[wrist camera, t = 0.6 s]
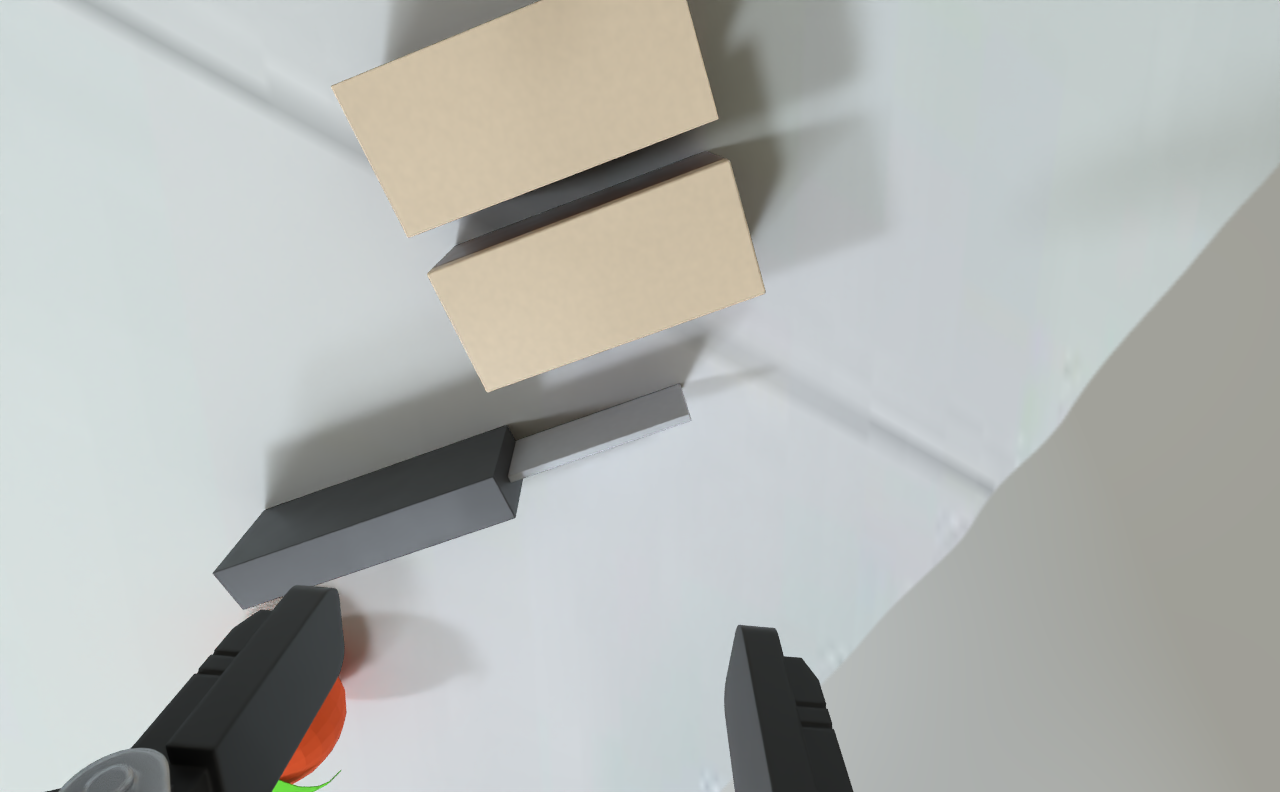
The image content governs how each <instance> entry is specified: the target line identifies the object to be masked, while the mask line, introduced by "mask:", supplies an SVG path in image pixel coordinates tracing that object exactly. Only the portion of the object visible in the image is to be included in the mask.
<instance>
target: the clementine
mask: <svg viewBox="0 0 1280 792" xmlns="http://www.w3.org/2000/svg"><path fill="white" fill-rule="evenodd" d="M345 717H346V700H345V689H344V687H343V685H342V683H341V681H340V679H339V677H338V678H337V680H336V682H335V684H334V685H333V687H332V689H331V691H330V692H329V694H328V696H327V697H326V699H325V701H324V703H323V704H322V706H321V708H320V710H319V711H318V713H317V715H316V716H315V718H314V720H313V722H312V723H311V725H310V727H309V729H308V730H307V732H306V734H305V736H304V737H303V739H302V741H301V742H300V744H299V746H298V748H297V749H296V751H295V753H294V755H293V756H292V758H291V760H290V761H289V763H288V765H287V767H286V768H285V770H284V772H283V774H282V775H281V777H280V779H279V780H278V782H277V784H276V786H275V787H274V789H273V791H272V792H314V791H316V790H318V789H320V788H322V787H323V786H325V785H327V784H328V783H329V782H331V781H332V780H333V779H334V778H335V777H336V776H337V775H338V774H339V772H340V771H341V770H340V771H339V772H338V773H337V774H336V775H335V776H334V777H333V778H332V779H331V780H330V781H329V782H327V783H324V784H322V785H320V786H313V787H301V786H296V785H293V784H294V783H295V782H297V781H299V780H301V779H302V778H304V777H305V776H307V775H308V774H310V773H312V772H313V771H314V770H315V769H316V768H317V767H318V766H319V765H320V764H321V763H322V762H323V761H324V760H325V759H326V757H327V756H328V755H329V754H330V752H331V751H332V750H333V748H334V746H335V744H336V743H337V741H338V739H339V737H340V734H341V731H342V728H343V725H344V721H345Z"/></svg>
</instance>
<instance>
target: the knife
mask: <svg viewBox="0 0 1280 792" xmlns="http://www.w3.org/2000/svg"><path fill="white" fill-rule="evenodd" d="M689 421H691V417H690V414H689V411H688V407H687V404H686V401H685V398H684V394H683V391H682V388H681V385H680V384H678V385H675V386H672V387H669V388H666V389H663V390H660V391H657V392H655V393H652V394H649V395H646V396H643V397H640V398H637V399H634V400H632V401H629V402H626V403H623V404H620V405H617V406H614V407H612V408H609V409H606V410H603V411H600V412H597V413H594V414H591V415H589V416H586V417H583V418H580V419H577V420H574V421H571V422H568V423H566V424H563V425H560V426H557V427H554V428H551V429H548V430H545V431H543V432H540V433H537V434H534V435H531V436H528V437H525V438H523V439H520V440H517V441H515V439H514V437H513V435H512V433H511V431H510V429H509V427H508V425H506V426H503V427H500V428H497V429H495V430H492V431H489V432H486V433H483V434H480V435H478V436H475V437H472V438H469V439H466V440H463V441H460V442H458V443H455V444H452V445H449V446H446V447H443V448H441V449H438V450H435V451H432V452H429V453H426V454H423V455H421V456H418V457H415V458H412V459H409V460H406V461H403V462H401V463H398V464H395V465H392V466H389V467H386V468H384V469H381V470H378V471H375V472H372V473H369V474H366V475H364V476H361V477H358V478H355V479H352V480H349V481H346V482H344V483H341V484H338V485H335V486H332V487H329V488H327V489H324V490H321V491H318V492H315V493H312V494H309V495H307V496H304V497H301V498H298V499H295V500H292V501H290V502H287V503H284V504H281V505H278V506H275V507H272V508H270V509H267V510H264V511H263V513H262V514H261V515H260V516H259V517H258V519H257V520H256V521H255V522H254V523H253V525H252V526H251V527H250V528H249V530H248V531H247V532H246V533H245V534H244V536H243V537H242V538H241V539H240V541H239V542H238V543H237V544H236V545H235V547H234V548H233V549H232V550H231V551H230V553H229V554H228V555H227V556H226V558H225V559H224V560H223V561H222V562H221V564H220V565H219V566H218V567H217V569H216V570H215V571H214V572H213V574H214V576H215V577H216V578H217V579H218V580H219V582H220V583H221V584H222V585H223V586H224V587H225V589H226V590H227V591H228V592H229V593H230V595H231V596H232V597H233V598H234V599H235V601H236V602H237V603H238V604H239V605H240V607H241V608H242V609H243V610H244V609H247V608H250V607H253V606H256V605H259V604H262V603H265V602H268V601H271V600H274V599H277V598H280V597H283V596H285V594H286V593H287V592H288V591H289V590H290V588H292V587H293V586H295V585H304V586H315V585H318V584H321V583H324V582H327V581H330V580H333V579H336V578H339V577H342V576H345V575H348V574H351V573H354V572H357V571H360V570H363V569H366V568H369V567H371V566H374V565H377V564H380V563H383V562H386V561H389V560H392V559H395V558H398V557H401V556H404V555H407V554H410V553H413V552H416V551H419V550H422V549H425V548H428V547H431V546H434V545H437V544H440V543H443V542H446V541H449V540H451V539H454V538H457V537H460V536H463V535H466V534H469V533H472V532H475V531H478V530H481V529H484V528H487V527H490V526H493V525H496V524H499V523H502V522H505V521H508V520H511V519H514V518H515V517H516V513H517V507H518V502H519V497H520V492H521V487H522V481H523V478H526V477H529V476H532V475H535V474H538V473H540V472H543V471H546V470H549V469H552V468H555V467H558V466H561V465H564V464H567V463H570V462H573V461H575V460H578V459H581V458H584V457H587V456H590V455H593V454H596V453H599V452H602V451H605V450H608V449H610V448H613V447H616V446H619V445H622V444H625V443H628V442H631V441H634V440H637V439H640V438H643V437H645V436H648V435H651V434H654V433H657V432H660V431H663V430H666V429H669V428H672V427H675V426H678V425H681V424H683V423H686V422H689Z"/></svg>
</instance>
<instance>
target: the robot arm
mask: <svg viewBox="0 0 1280 792" xmlns="http://www.w3.org/2000/svg"><path fill="white" fill-rule="evenodd" d="M343 658H344V637H343V628H342V618H341V609H340V600H339V594H338V591H337V590H336V589H335V588H326V587H315V586H304V585H295V586H293V587H292V588H290V590H289V591H288V592H287V593H286V594H285V596H284V597H283V598H282V599H281V601H280V602H279V603H278V604H277V606H276V607H275V608H274V609H273V611H270V610H259V611H258V612H256V613H255V614H253V615H252V616H250V617H249V618H247V619H246V620H245V621H243V622H242V623H240V624H239V625H237V626H236V627H234V628H233V629H232V630H231V631H230V633H229V634H228V635H227V636H226V637H225V638H224V640H223V641H222V642H221V643H220V644H219V646H218V647H217V648H216V649H215V650H214V654H213V655H210V656H209V657H208V658H207V660H206V661H205V662H204V663H203V664H202V666H201V667H200V668H199V671H198V673H197V674H194V675H193V676H192V677H191V678H190V680H189V681H188V682H187V683H186V684H185V686H184V687H183V688H182V689H181V690H180V691H179V693H178V694H177V695H176V696H175V697H174V698H173V700H172V701H171V702H170V703H169V704H168V705H167V707H166V708H165V709H164V710H163V711H162V713H161V714H160V715H159V716H158V717H157V718H156V720H155V721H154V722H153V723H152V724H151V725H150V727H149V728H148V729H147V730H146V731H145V733H144V734H143V735H142V736H141V737H140V738H139V740H138V741H137V742H136V743H135V744H134V745H133V746H132V747H131V748H130V749H127V750H122V751H119V752H116V753H113V754H110V755H108V756H105V757H103V758H101V759H99V760H97V761H95V762H93V763H91V764H90V765H88V766H87V767H85V768H84V769H82V770H81V771H79V772H78V773H77V774H76V775H74V776H73V777H72V778H71V779H70V780H69V781H68V782H67V783H66V784H65V785H64V786H63V787H62V788H60V789H56V790H52V791H47V792H272V791H273V789H274V787H275V786H276V784H277V782H278V780H279V779H280V777H281V775H282V774H283V772H284V770H285V768H286V767H287V765H288V763H289V761H290V760H291V758H292V756H293V755H294V753H295V751H296V749H297V748H298V746H299V744H300V742H301V741H302V739H303V737H304V736H305V734H306V732H307V730H308V729H309V727H310V725H311V723H312V722H313V720H314V718H315V716H316V715H317V713H318V711H319V710H320V708H321V706H322V704H323V703H324V701H325V699H326V697H327V696H328V694H329V692H330V691H331V689H332V687H333V685H334V684H335V682H336V680H337V678H338V676H339V673H340V670H341V667H342V663H343ZM724 707H725V719H726V726H727V734H728V742H729V749H730V757H731V765H732V772H733V780H734V787H735V792H853V789H852V786H851V783H850V779H849V777H848V773H847V770H846V767H845V763H844V760H843V757H842V754H841V751H840V747H839V744H838V741H837V738H836V734H835V731H834V729H832V722H831V718H830V715H829V712H828V709H826V702H825V699H824V696H823V693H822V690H821V686H820V683H819V680H818V679H817V677H816V676H815V675H814V673H813V672H812V671H811V670H810V668H809V667H808V666H807V664H806V663H805V662H804V660H803V659H802V658H796V657H785V656H783V652H782V648H781V644H780V640H779V636H778V633H777V631H776V629H775V628H768V627H756V626H745V625H738V626H737V629H736V632H735V637H734V642H733V647H732V652H731V657H730V662H729V667H728V672H727V677H726V683H725V695H724Z"/></svg>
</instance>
